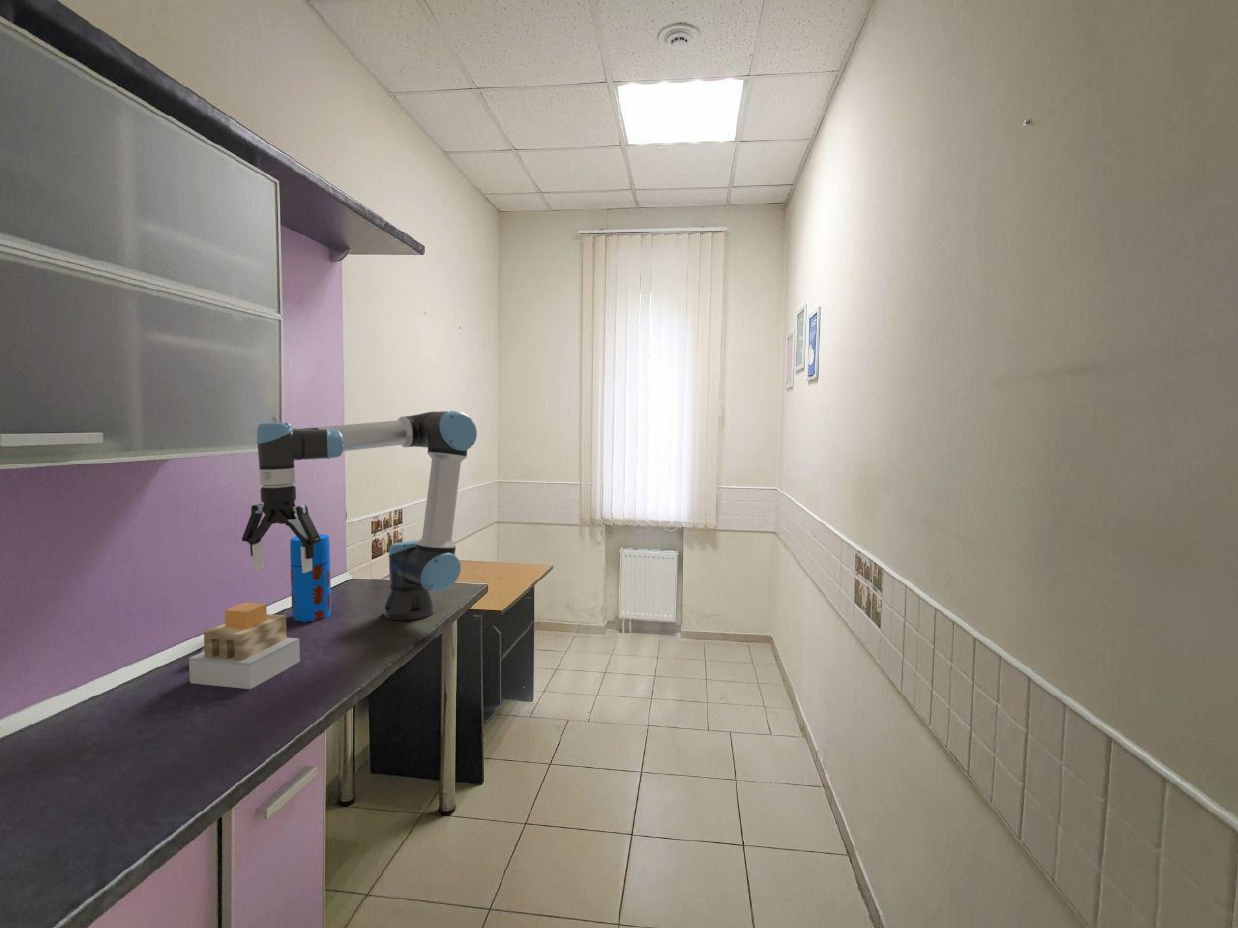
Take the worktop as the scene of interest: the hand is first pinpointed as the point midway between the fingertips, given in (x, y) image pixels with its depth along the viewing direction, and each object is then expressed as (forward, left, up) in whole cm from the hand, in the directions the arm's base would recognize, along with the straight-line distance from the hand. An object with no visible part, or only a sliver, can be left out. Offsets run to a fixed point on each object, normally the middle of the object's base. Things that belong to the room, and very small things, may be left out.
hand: (283, 570), depth 148 cm
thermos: (-34, -18, -24) cm, 45 cm away
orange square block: (+6, -5, -12) cm, 14 cm away
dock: (+6, -5, -24) cm, 25 cm away
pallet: (+6, -5, -18) cm, 19 cm away
